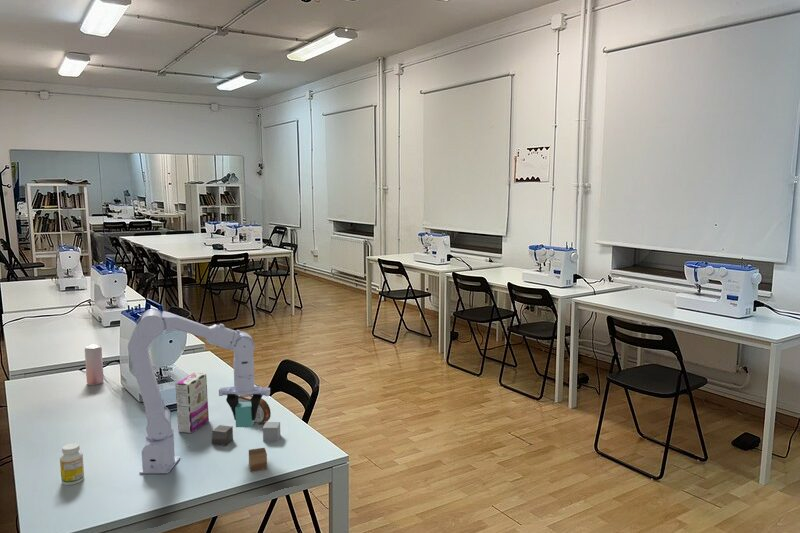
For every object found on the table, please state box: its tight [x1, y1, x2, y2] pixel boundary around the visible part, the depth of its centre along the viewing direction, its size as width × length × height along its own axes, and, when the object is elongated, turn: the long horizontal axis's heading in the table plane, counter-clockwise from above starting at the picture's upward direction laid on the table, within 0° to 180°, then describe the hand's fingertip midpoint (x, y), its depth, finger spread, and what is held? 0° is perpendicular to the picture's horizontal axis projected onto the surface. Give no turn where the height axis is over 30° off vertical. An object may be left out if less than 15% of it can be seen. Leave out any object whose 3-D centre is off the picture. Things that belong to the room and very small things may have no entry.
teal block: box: [235, 402, 255, 428], centre depth 174 cm, size 4×4×6 cm
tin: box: [238, 395, 272, 425], centre depth 198 cm, size 15×3×8 cm, turn 57°
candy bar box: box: [175, 372, 210, 434], centre depth 193 cm, size 11×5×16 cm, turn 168°
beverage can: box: [84, 344, 105, 386], centre depth 234 cm, size 6×6×15 cm
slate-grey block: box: [262, 421, 281, 442], centre depth 185 cm, size 4×4×4 cm
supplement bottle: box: [59, 442, 85, 486], centre depth 157 cm, size 5×5×10 cm
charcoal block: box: [211, 424, 234, 447], centre depth 182 cm, size 4×4×4 cm
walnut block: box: [248, 447, 268, 472], centre depth 166 cm, size 4×4×4 cm
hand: (245, 418), depth 174 cm, fingers closed on teal block, 4 cm apart
